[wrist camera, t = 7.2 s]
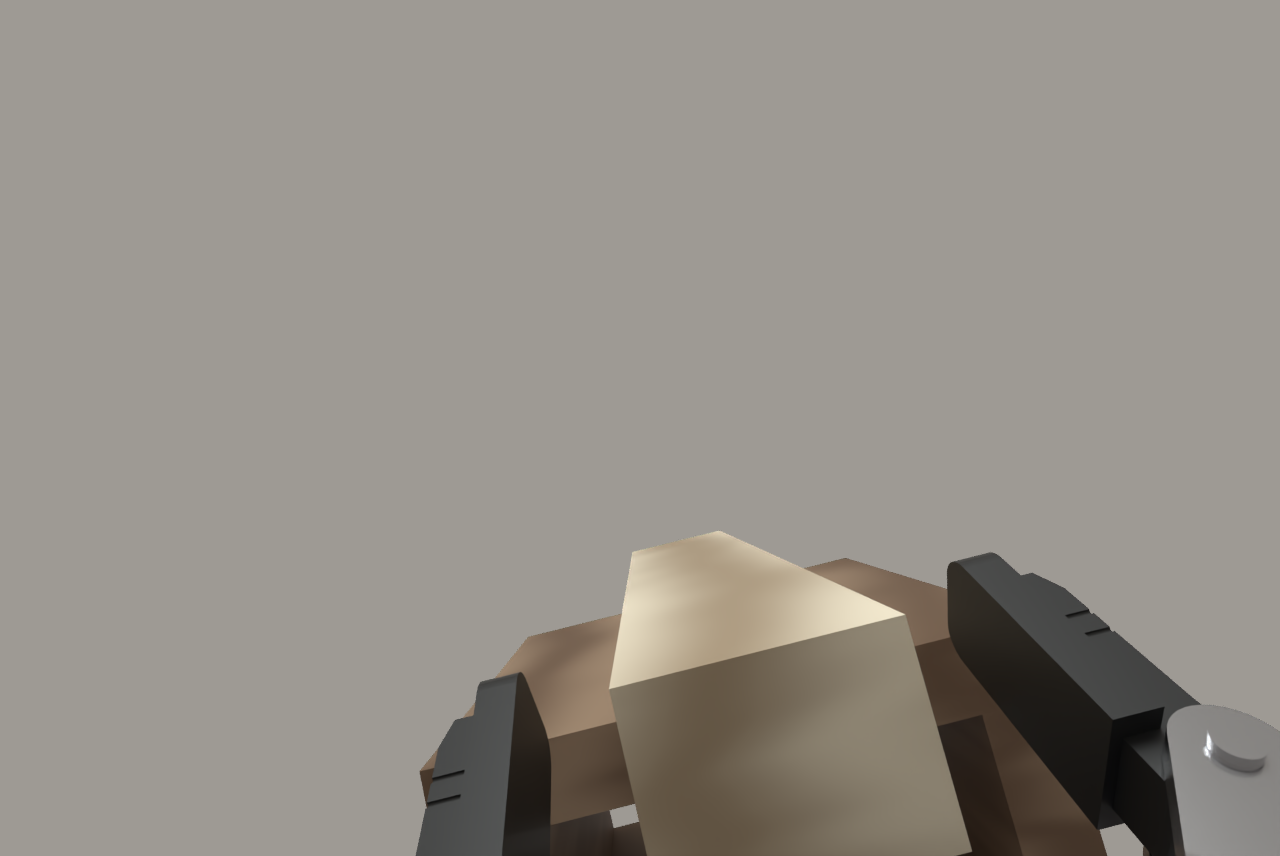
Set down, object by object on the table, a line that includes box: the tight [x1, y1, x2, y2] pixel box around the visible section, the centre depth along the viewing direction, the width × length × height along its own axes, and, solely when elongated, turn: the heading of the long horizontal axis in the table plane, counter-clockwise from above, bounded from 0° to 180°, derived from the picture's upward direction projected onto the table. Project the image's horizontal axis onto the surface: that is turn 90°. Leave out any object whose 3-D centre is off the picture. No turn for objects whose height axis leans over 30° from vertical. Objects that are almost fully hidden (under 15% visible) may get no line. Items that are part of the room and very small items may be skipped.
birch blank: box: [609, 531, 972, 856], centre depth 18 cm, size 4×20×3 cm, turn 0°
